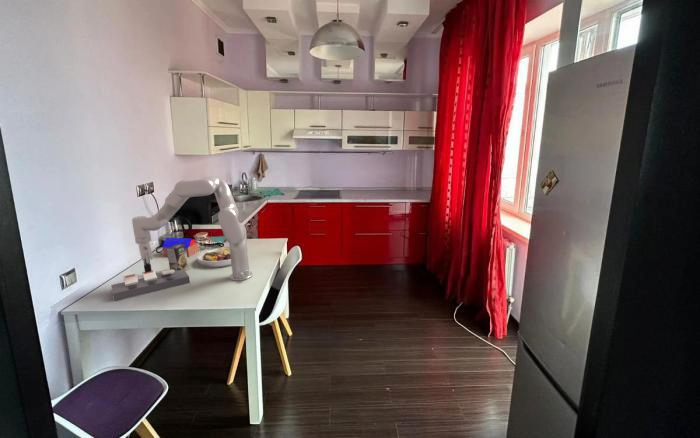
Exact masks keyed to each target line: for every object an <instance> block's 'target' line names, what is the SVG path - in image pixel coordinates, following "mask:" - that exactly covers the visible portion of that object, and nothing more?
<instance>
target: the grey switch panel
mask: <svg viewBox="0 0 700 438" xmlns="http://www.w3.org/2000/svg"><path fill="white" fill-rule="evenodd" d="M156 276H157V280H152V281H148V282H145V281H144V277H142V278H137V279H138V283H139V284H134V285H130V286H125V282H119V283H118V282H117V283H114V284H111V292H112V296H113V297H112V298H113V301H114V302H116V301H122V300H125V299H129V298H133V297H137V296H142V295H146V294H149V293H154V292H158V291H162V290H167V289H172V288H175V287H179V286H184V285H188V283H189V284H191V281H190V276H189V274H188V273H187V272H186V271H185V270H184V269H183V270H178V271H175V272H174V273H173V274H168V275H164V276H163V275H162V274H161V273H160V274H156Z"/></svg>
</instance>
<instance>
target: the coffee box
mask: <svg viewBox="0 0 700 438" xmlns="http://www.w3.org/2000/svg"><path fill="white" fill-rule="evenodd" d="M167 253H168V256H167V259H168V260H167V261H168V266H169V270H172V269H173V270H175V271H178V270H183V269H184V270H185V272H186V271H189V268H190V267H189V264H188V263H189V262H188V257H187V254H186V247H185V244H176V245H174V246H172V247H169V248H167Z"/></svg>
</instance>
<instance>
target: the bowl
mask: <svg viewBox="0 0 700 438" xmlns="http://www.w3.org/2000/svg"><path fill="white" fill-rule="evenodd" d="M214 248H215V249H211V248H210V249H207V250H204V251H203V252H201V253H200V254H198V255H197V261H198V263H199V264H200V265H202V266H203V267H208V268H223V267H228V266H231V257H230V247H229V246H222V247H221V246H220V247H214Z"/></svg>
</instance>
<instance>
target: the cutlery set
mask: <svg viewBox="0 0 700 438" xmlns="http://www.w3.org/2000/svg"><path fill="white" fill-rule="evenodd" d="M209 237H210V238H211V240H212V241H213V242H217V243H221V242H222V244H223V243H224V242H227V240H226V239H225V236H224V235H222V236H221V235H218V236H209ZM219 241H221V242H219ZM213 245H214V247H213V248H210V250H211V249H215V248H221V246H219V245H217V244H216V243H215V244H214V243H213Z"/></svg>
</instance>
